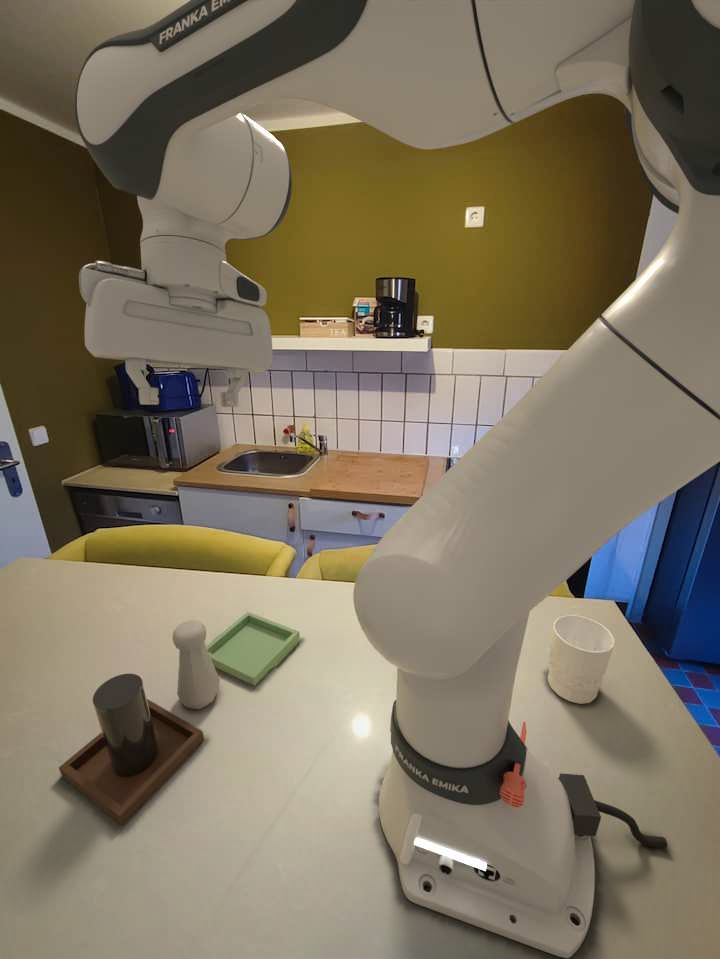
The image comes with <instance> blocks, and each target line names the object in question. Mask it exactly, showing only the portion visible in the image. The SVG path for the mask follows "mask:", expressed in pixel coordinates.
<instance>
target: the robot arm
mask: <svg viewBox="0 0 720 959" xmlns="http://www.w3.org/2000/svg"><path fill="white" fill-rule="evenodd" d="M591 94H594V95H595V94H600V95H607V96H611V97H613V98H615V99H617V100H618V101H619V102H621V103H622V104H623V105H624V106H625V108H624V121H625V124H626V127H627V131H628V133H629V136H630V138H631V141H632V144H633V146H634V149H635V153H636V156H637V159H638V164H639V168H640V170H641V173H642V176H643V178H644V180H645V183H646V185H647V187H648V188H649V190H650V192H651V194H652V195H653V196H654V197H655V198H656V199H657V200H658V202H659V203H661V205H663V206H664V207H665V208H667V209H668V210H669V211H671V212H673V213H675V214H677V217H676V221H675V223H674V225H673V228H672V229H671V232H670V234H669V236H668V237H667V239H666V241H665V242H664V243H663V245H662V247H661V248H660V249H659V251H658V252H657V254H656V255H655V256H654V257H653V259H652V260H651V261H650V262H649V263H648V265H647V266H646V267H645V269H644V270H643V271H642V272H641V273H640V274H639V275H638V276H637V277H636V278H635V280H634V281H633V282H631V284H629V286H628V287H627V288H626V289H625V290H624V291H623V292H622V293H621V294H620V295H619V296H618V297H617V298H616V299H615V300H614V301H613V302H612V303H611V304H610V305H609V306H608V307H607V308H606V309H605V310H604V312H602V313H601V317H598V318H597V319H595V321H594V322H593V323H592V324H591V325H590V326H589V327H588V328H587V329H586V330H585V332H583V333H582V334H581V335H580V336H579V338H578V339H577V340H576V341H574V342H573V344H572V345H571V346H570V347H569V348H568V349H567V350H566V351H565V352H564V353H563V354H562V355H561V356H560V357H559V358H558V359H557V360H556V362H555V363H554V364H552V366H551V367H550V368H549V369H547V371H546V372H545V373H544V374H543V375H542V376H541V377H540V378H539V379H538V380H537V381H536V382H535V383H534V384H533V385H532V386H531V387H530V389H529V390H528V391H527V392H525V394H524V395H523V396H522V397H521V398H519V400H518V401H517V402H516V403H515V404H514V405H513V406H512V407H511V408H510V409H509V410H508V411H507V412H506V413H505V414H504V415H503V416H502V417H501V418H500V419H499V420H498V421H497V422H496V423H495V424H493V426H491V427H490V428H489V429H488V431H487V432H485V433H484V434H483V435H482V436H481V437H480V438H479V439H478V440H477V441H476V442H475V443H474V444H473V445H472V446H471V447H470V448H469V449H468V450H467V451H466V452H465V453H464V454H462V456H461V457H460V458H459V459H458V460H457V461H456V462H454V464H452V466H451V467H450V468H449V469H447V471H445V472H444V473H443V474H442V475H441V476H440V478H439V479H437V481H436V482H434V484H433V485H432V486H431V487H430V488H429V489H427V490H426V492H424V493H423V495H422V496H420V497H419V499H417V500H416V501H415V503H414V504H413V505H411V506H410V508H408V510H406V512H405V513H404V514H402V515H401V517H399V519H398V520H397V521H395V522H394V524H393V525H392V526H391V527H389V529H388V530H387V531H386V532H385V533H384V535H383V536H382V537H381V539H379V541H378V543H376V545H375V547H374V548H373V550H372V551H371V553H370V554H369V556H368V558H367V559H366V561H365V562H364V564H363V566H362V567H361V569H360V571H359V572H358V574H357V576H356V579H355V582H354V585H353V594H352V595H353V596H352V598H353V606H354V611H355V615H356V618H357V621H358V623H359V626H360V628H361V630H362V632H363V635H364V636H365V637H366V639H367V641H368V642H369V643H370V644H371V646H372V647H373V648H374V650H375V651H376V652H377V653H378V654H379V655H380V656H381V657H382V658H383V659H385V661H387V662H388V663H390V664H391V665H393V666H394V667H396V668H397V669H396V694H395V695H396V697H395V698H396V699H395V700H394V701H393V703H392V709H391V715H390V725H389V732H390V745H391V748H392V753H391V758H390V763H389V766H388V770H387V771H386V774H385V776H384V778H383V780H382V782H381V786H380V789H379V795H378V815H379V822H380V825H381V829H382V831H383V834H384V837H385V839H386V841H387V843H388V845H389V846H390V849H391V851H392V852H393V855H394V857H395V859H396V862H397V868H398V875H399V879H400V885H401V889H402V892H403V894H404V896H405V897H406V899H407V900H409V901H410V902H411V903H413V904H416V905H418V906H421V907H424V908H426V909H429V910H431V911H434V912H437V913H440V914H442V915H445V916H448V917H451V918H454V919H456V920H459V921H461V922H464V923H466V924H470V925H472V926H475V927H476V928H477V927H478V928H481V929H482V930H486V931H488V932H491V933H494V934H497V935H498V936H502V937H504V938H507V939H510V940H513V941H515V942H518V943H520V944H524V945H526V946H529V947H532V948H534V949H537V950H539V951H541V952H545V953H548V954H550V955H552V956H555V957H558V958H563V959H569V958H571V957H572V956H573V955H574V954H576V952H577V951H578V950H579V948H580V947H581V946H582V944H583V942H584V940H586V936H587V934H588V931H589V928H590V924H591V920H592V916H593V908H594V899H595V883H596V872H595V856H594V848H593V843H592V839H591V837H597V833H598V830H599V826H600V823H601V819H602V816H601V814H600V813H603V814H605V815H608V816H610V817H614V818H616V819H619V820H620V821H622V822H624V823H625V824H627V826H628V828H629V830H630V832H631V834H632V836H633V838H634V839H635V840H636V841H638V842H639V843H640V844H642V845H644V846H646V847H650V848H662V849H667V848H668V842H667V839H666V837H664V836H657V835H655V836H654V835H647V834H644V833H642V832H641V830H640V828H639V824H638V823H637V822H636V820H635V819H634V818H633V817H632V816H631V815H630V814H628V813H627V812H625V811H624V810H622V809H620V808H618V807H615V806H613V805H610V804H607V803H604V802H601V801H598V800H595V798H594V797H593V794H592V791H591V789H590V787H589V784H588V782H587V780H586V777H585V775H584V774H572V773H561V772H560V773H559V775H558V776H557V775H556V774H554V773H553V772H552V771H551V770H549V769H548V768H547V767H546V766H545V765H544V764H543V763H542V762H541V761H540V760H538V759H537V758H536V757H535V756H534V755H532V754H531V753H530V752H529V748H528V746H526V738H527V725H526V724H527V723H526V721H523V722H522V726H521V732H520V736H519V734H518V733H517V732H516V730H515V728H514V727H513V726H512V724H511V722H510V720H509V719H510V713H511V706H512V700H513V694H514V687H515V681H516V675H517V670H518V665H519V661H520V656H521V652H522V648H523V644H524V640H525V634H526V630H527V625H528V622H529V617H530V612H531V611H533V609H535V608H536V607H537V606H538V605H539V604H541V603H542V602H543V601H544V600H545V599H546V598H548V597H549V596H550V595H551V594H553V593H554V592H555V591H556V590H557V589H558V588H559V587H561V586H562V585H563V584H564V583H565V582H566V581H567V580H568V579H570V577H572V576H574V574H575V573H576V572H577V571H578V570H580V568H581V567H583V566H584V565H585V564H586V563H587V562H588V561H589V560H590V559H591V558H592V557H593V556H594V555H595V554H596V553H597V552H598V551H599V550H600V549H602V548H603V547H604V546H605V545H606V544H608V542H610V540H612V539H613V538H614V537H615V536H616V535H617V534H619V533H620V532H621V531H623V530H624V529H625V528H627V526H629V525H630V524H631V523H632V522H634V521H635V520H636V519H638V518H639V517H641V516H642V515H643V514H645V513H646V512H648V511H649V510H651V509H652V508H653V507H655V506H656V505H658V504H659V503H661V502H662V501H664V500H665V499H667V498H669V497H670V496H671V495H673V494H674V493H675V492H677V491H678V490H680V489H681V488H683V487H684V486H686V485H687V484H689V483H690V482H691V481H694V480H695V479H696V478H698V477H699V476H701V475H702V474H703V473H705V472H706V471H708V470H709V469H711V468H712V467H713V466H715V465H716V464H718V463H719V462H720V0H188V1H187V2H186V3H184V4H183V5H181V6H179V7H178V8H176V9H175V10H174V11H172V12H171V13H169V14H167V15H166V16H164V17H163V18H161V19H159V20H158V21H156V22H154V23H153V24H150V25H149V26H146V27H144V28H140V29H135V30H132V31H131V30H130V31H127V32H124V33H121V34H118V35H115V36H113V37H110V38H108V39H106V40H105V41H103V42H101V43H99V44H98V45H97V46H96V47H95V48H93V49H92V50H91V51H90V53H89V54H88V56H87V57H86V59H85V60H84V63H83V64H82V67H81V70H80V72H79V76H78V79H77V83H76V88H75V96H74V115H75V116H74V117H75V123H76V127H77V130H78V133H79V136H80V137H81V138H80V139H82V143H84V145H85V147H86V149H87V151H88V153H89V154H90V156H91V158H92V159H93V161H94V163H95V164H96V166H97V167H98V168H99V170H100V171H101V173H102V174H103V175H104V177H105V178H106V179H107V181H108V182H109V183H110V185H111V186H112V187H113V188H114V189H116V190H118V191H122V192H124V193H125V192H126V193H127V194H131V195H134V196H136V199H137V205H138V208H139V211H140V215H141V218H142V230H141V234H140V239H139V245H140V247H139V248H140V263H141V268H135V267H130V266H125V265H118V264H115V263H111V262H109V261H105V260H95V261H94V262H92V263H87V264H85V265H84V266H82V267H81V269H80V270H79V273H78V286H79V293H80V296H81V297H82V299H83V301H84V302H85V303H86V306H85V315H84V347H85V348H86V350H87V351H88V352H89V353H90V354H91V355H92V356H93V358H99V359H106V360H107V359H108V360H109V359H110V360H118V361H119V360H120V361H124V362H125V363H124V364H125V372H126V373H127V375H128V377H129V378H130V379H131V381H132V383H133V384H134V385H135V387H136V388H137V389H138V401H139V405H146V406H147V405H148V406H149V405H150V406H151V405H152V406H153V405H154V406H155V405H156V406H157V405H159V404H160V398H159V397H158V396H159V394H160V392H159V391H160V390H159V388H158V387H151V385H150V384H149V382H148V381H147V379H146V376H145V375H144V374H143V372H144V371H146V370H147V363H150V364H161V365H162V364H163V365H171V366H172V365H174V366H181V367H182V366H183V367H193V368H205V369H215V370H224V371H225V370H227V379H228V380H231V381H230V383H229V386H228V387H227V390H226V391H221V392H220V400H221V401H220V406H221V407H222V408H238V407H239V393H240V392H241V389H242V387H243V385H244V384H245V382H246V381H247V372H248V373H259V372H261V373H262V372H265V371H267V370H269V368H270V366H271V365H272V363H273V355H274V354H273V339H272V329H271V323H270V319H269V316H268V315H267V312H265V311H264V309H262V308H261V307H264V306H265V305H266V304H267V301H268V297H267V291H266V289H265V288H264V287H263V286H262V285H260V284H259V283H258V282H256V281H255V280H253V279H250V278H249V277H248V276H246V275H245V274H243V273H242V272H241V271H239V270H237V269H236V268H235V267H233V265H231V264H230V263H228V262H227V252H226V244H227V242H228V241H230V240H231V239H234V240H238V241H243V240H244V241H245V240H247V241H248V240H253V239H259V238H263V237H266V236H267V235H268V234H270V233H272V232H273V231H274V230H276V229H277V228H278V227H279V226H280V224H281V223H282V222H283V221H284V219H285V217H286V215H287V212H288V210H289V206H290V202H291V197H292V191H293V173H292V166H291V162H290V158H289V155H288V152H287V150H286V148H285V146H284V144H283V143H282V142H280V141H279V140H278V139H276V137H275V136H274V135H273V134H271V133H270V132H268V131H267V130H266V129H265V128H263V127H262V126H261V125H260V124H258V123H256V121H254V120H253V119H251V118H250V117H248V116H247V115H246V114H244V113H243V112H245V111H248V110H249V109H252V108H253V107H256V106H258V105H260V104H262V103H265V102H268V101H272V100H278V99H292V100H293V99H294V100H302V101H307V102H312V103H315V104H318V105H322V106H325V107H328V108H330V109H333V110H336V111H338V112H341V113H344V114H345V115H348V116H350V117H352V118H354V119H356V120H359V121H361V122H363V123H365V124H367V125H369V126H370V127H373V128H374V129H376V130H378V131H380V132H381V133H382V134H383V133H384V134H385V135H387V136H389V137H391V138H392V139H394V140H396V141H398V142H400V143H403V144H405V145H407V146H409V147H413V148H416V149H420V150H436V149H437V150H438V149H444V148H450V147H454V146H460V145H465V144H468V143H470V142H471V143H472V142H475V141H477V140H479V139H482V138H484V137H487V136H489V135H491V134H493V133H496V132H498V131H501V130H503V129H505V128H507V127H509V126H511V125H514V124H516V123H518V122H520V121H522V120H525V119H527V118H529V117H531V116H533V115H535V114H537V113H540V112H541V111H544V110H546V109H549V108H551V107H553V106H555V105H556V104H559V103H562V102H564V101H568V100H570V99H573V98H576V97H581V96H585V95H591ZM425 886H428V887H429V888H430V891H426V890H425V889H424V887H425ZM571 918H572V919H575V921H576V922H577V923H578V925H577V924H575V923H573V922H572V919H571Z"/></svg>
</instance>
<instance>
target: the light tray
mask: <svg viewBox="0 0 720 959" xmlns="http://www.w3.org/2000/svg"><path fill="white" fill-rule="evenodd" d="M300 638H301V636H300V631H299V630H296V629H294V628H291V627H289V626H285V625H283V624H282V623H281V624H280V623H279V622H275V621H273V620H270V619H268V618H265V617H262V616H260V615H258V614H254V613H252V612H249V611H247V612H246V613H244V614H243V615H242V616H240V618H238V619H237V620H236V621H234V623H232V624H231V625H230V626H228V628H226V629H225V630H223V632H221V633H220V634H219V635H218V636H216V637H215V638H214V639H213V640H212V641H211V642H209V643H208V644H207V645H206V648H207V650H208V653H209V655H210V657H211V660H212V662H213V665H214V667H215V669H218V670H220V671H222V672H225V673H227V674H229V675H231V676H233V677H235V678H237V679H239V680H241V681H243V682H245V683H247V684H250V685H251V686H254V687H256V686H257V685H258V683H260V681H261V680H263V678H265V676H266V675H267V674H268V673H269V672H270V671H271V670H272V669H273V668H274V669H275V668H277V667H278V665H279V664H280V663H281V662H283V660H284V659H285V658H286V657H287V656H288V655H289V653H291V652H292V651H293V649H294V648H296V646H297V645H298V644H299V643H300V642H301V639H300Z"/></svg>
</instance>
